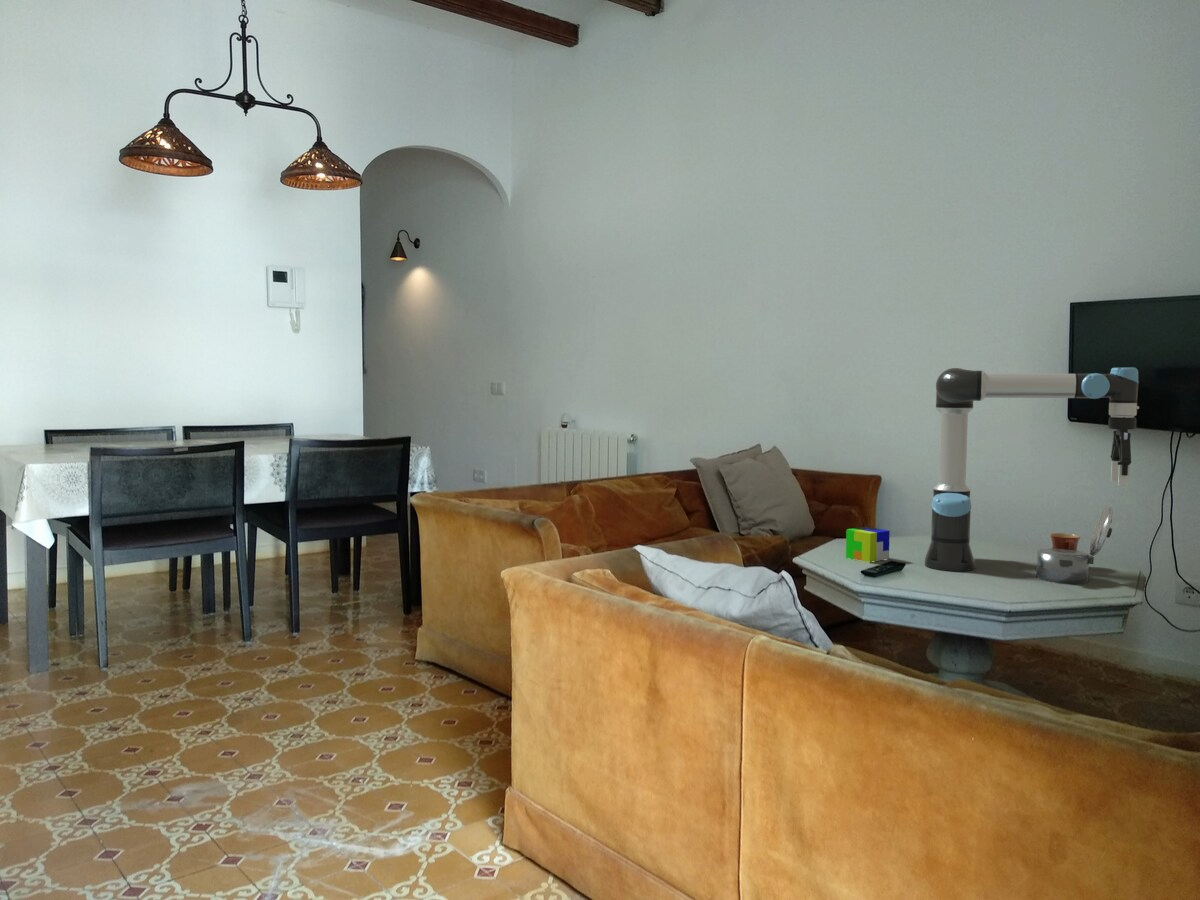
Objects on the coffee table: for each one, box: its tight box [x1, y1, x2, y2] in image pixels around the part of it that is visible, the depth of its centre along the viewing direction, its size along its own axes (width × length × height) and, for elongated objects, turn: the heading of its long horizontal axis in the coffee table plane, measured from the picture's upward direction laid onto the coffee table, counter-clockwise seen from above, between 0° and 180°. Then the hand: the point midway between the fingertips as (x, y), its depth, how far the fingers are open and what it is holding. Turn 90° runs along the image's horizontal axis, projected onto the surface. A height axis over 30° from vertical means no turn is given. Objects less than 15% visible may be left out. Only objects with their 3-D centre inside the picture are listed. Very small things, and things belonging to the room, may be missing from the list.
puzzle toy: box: [845, 526, 891, 562], centre depth 295 cm, size 10×10×10 cm
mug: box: [1049, 532, 1081, 551], centre depth 281 cm, size 12×9×10 cm
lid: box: [1089, 505, 1113, 557], centre depth 260 cm, size 15×15×3 cm
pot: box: [1035, 548, 1095, 585], centre depth 265 cm, size 15×19×8 cm
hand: (1119, 483), depth 275 cm, fingers open, 13 cm apart
